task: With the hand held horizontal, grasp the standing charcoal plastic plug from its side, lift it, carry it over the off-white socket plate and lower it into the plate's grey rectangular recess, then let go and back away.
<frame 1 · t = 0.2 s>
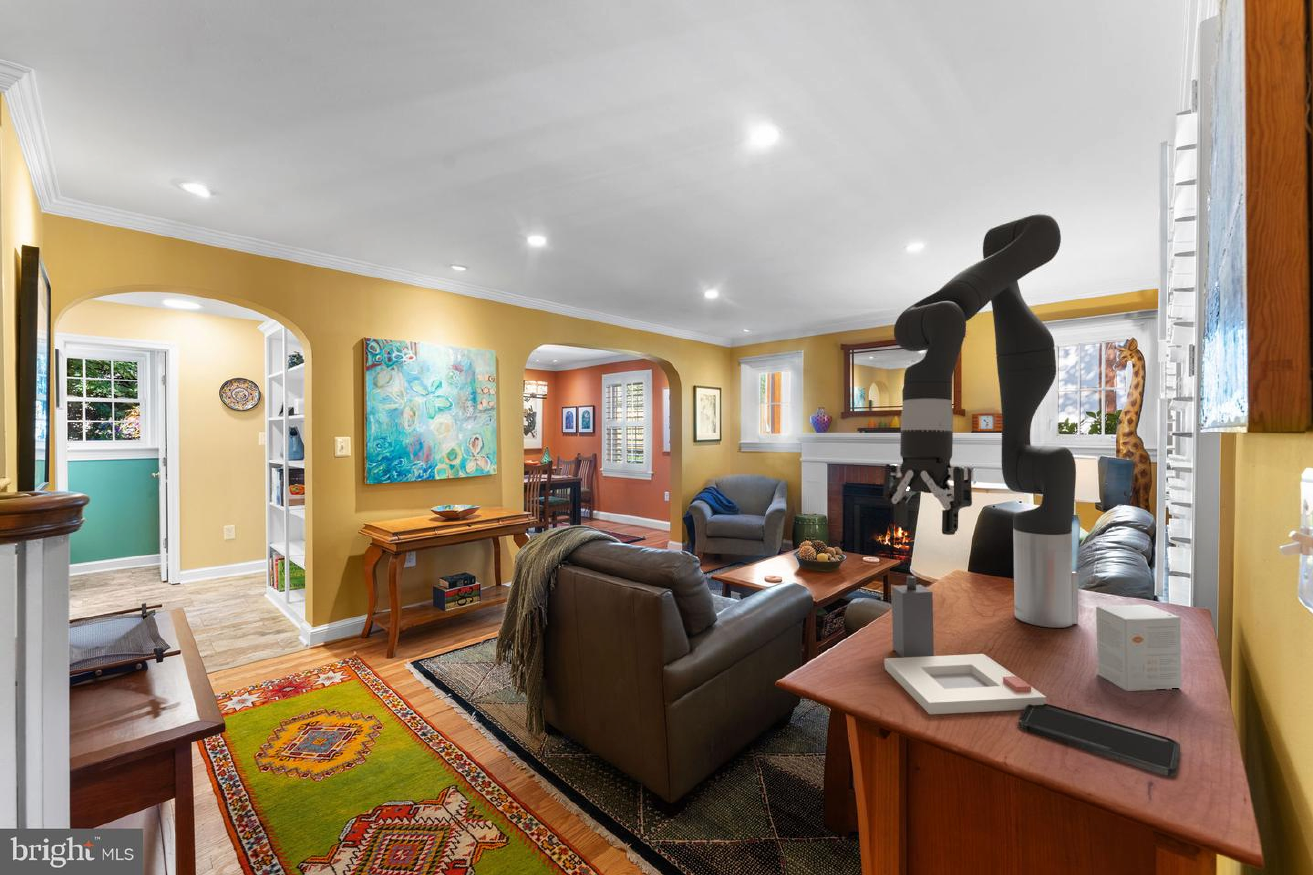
hand: (923, 530, 90), 22 cm above the table, tool pointing down, fingers open, 8 cm apart
socket plate: (958, 686, 83), on the table
phone: (1095, 741, 69), on the table
plug: (913, 653, 95), on the table
small box: (1137, 683, 83), on the table
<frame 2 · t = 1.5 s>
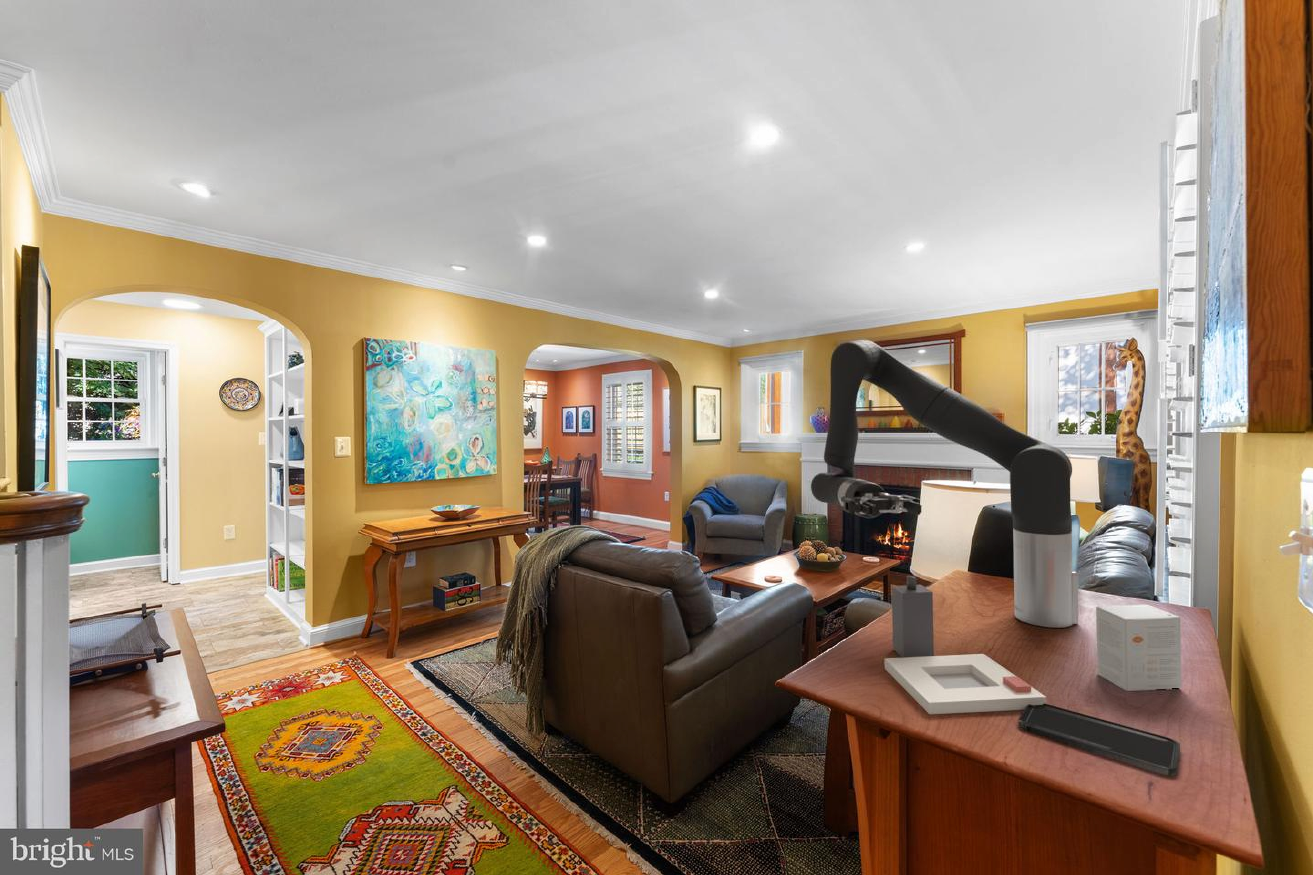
hand: (896, 510, 106), 22 cm above the table, tool horizontal, fingers open, 8 cm apart
nothing on the table moved.
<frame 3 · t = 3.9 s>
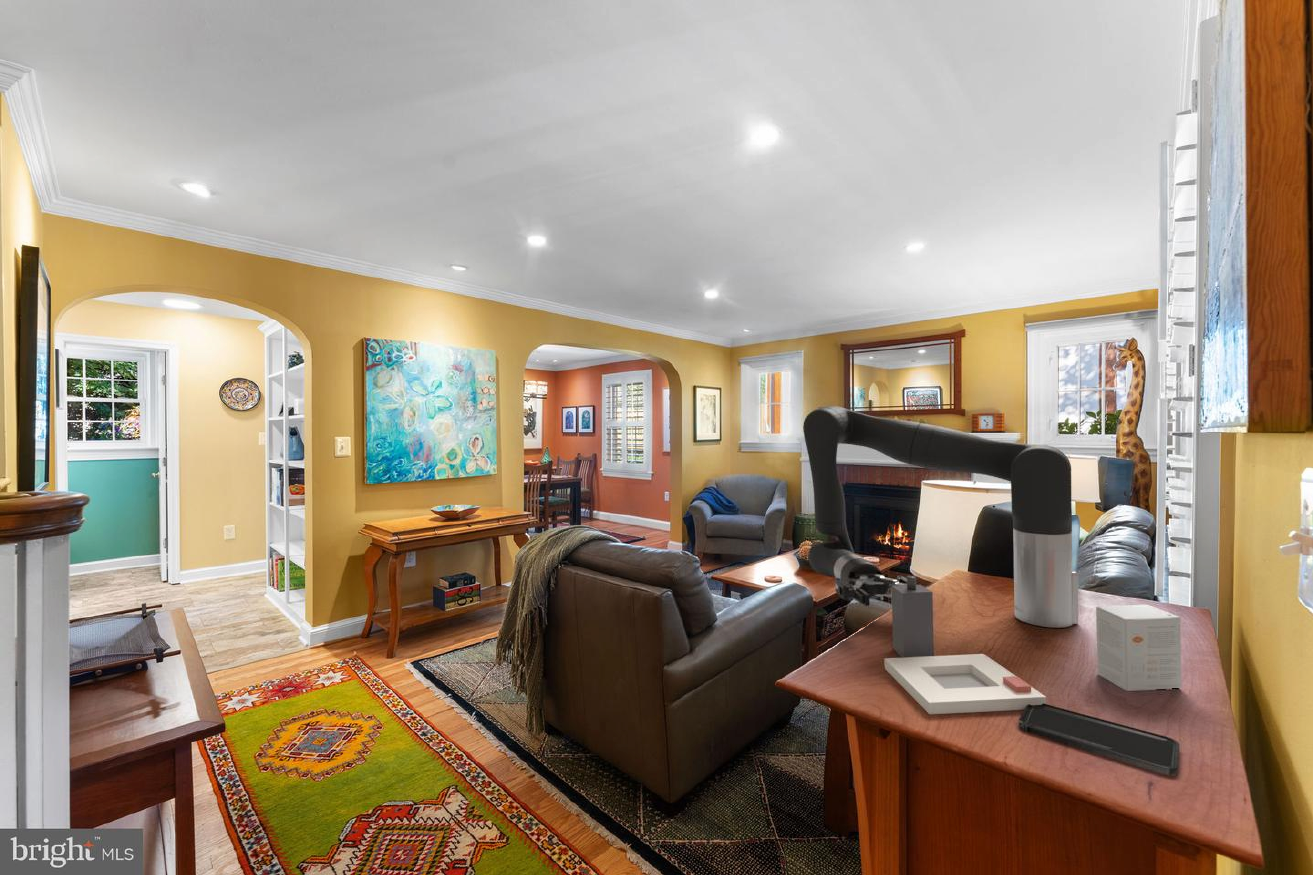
hand: (890, 599, 103), 7 cm above the table, tool horizontal, fingers open, 8 cm apart
nothing on the table moved.
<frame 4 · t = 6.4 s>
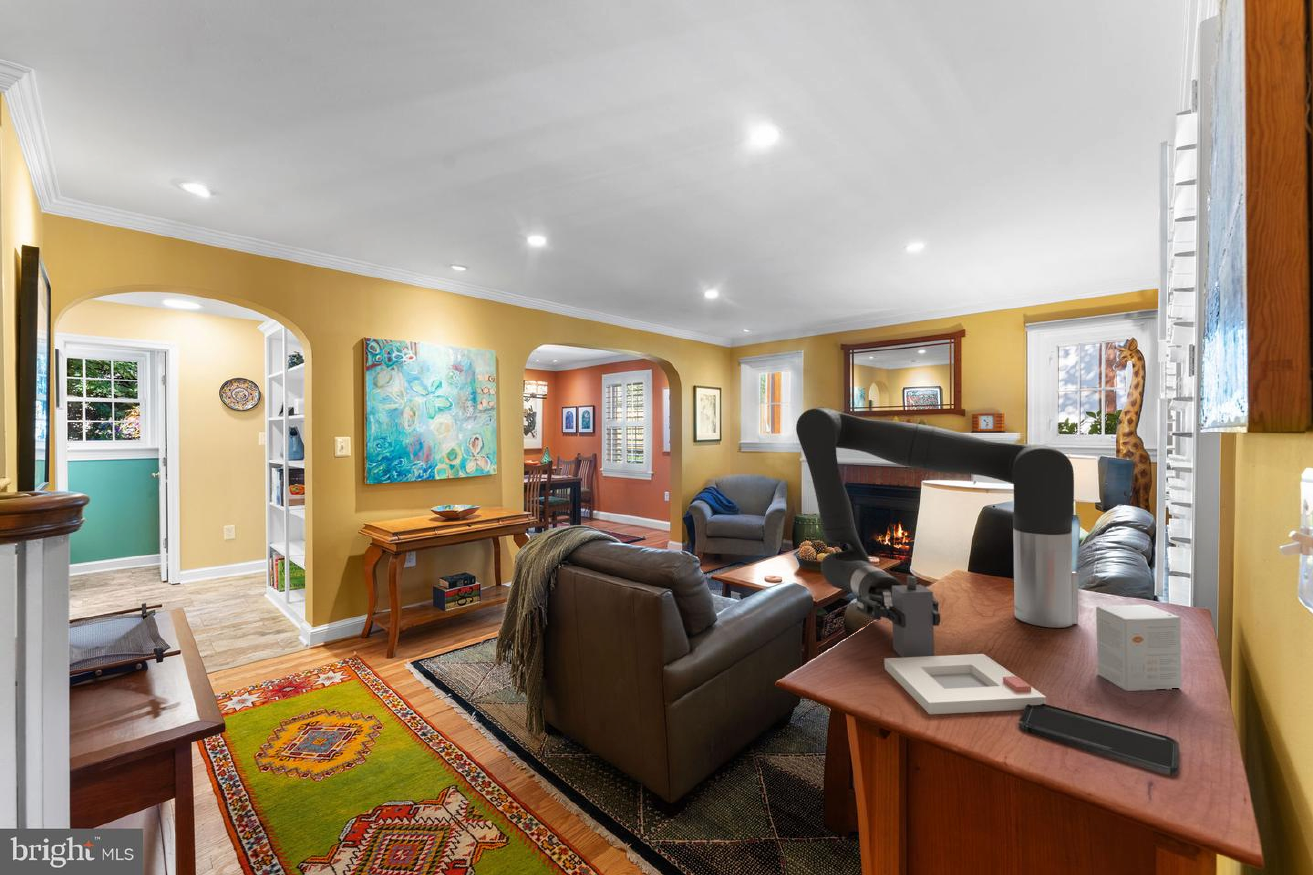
hand: (920, 620, 92), 7 cm above the table, tool horizontal, fingers closed on plug, 5 cm apart
plug: (913, 653, 95), on the table, touching gripper
everything else where it was.
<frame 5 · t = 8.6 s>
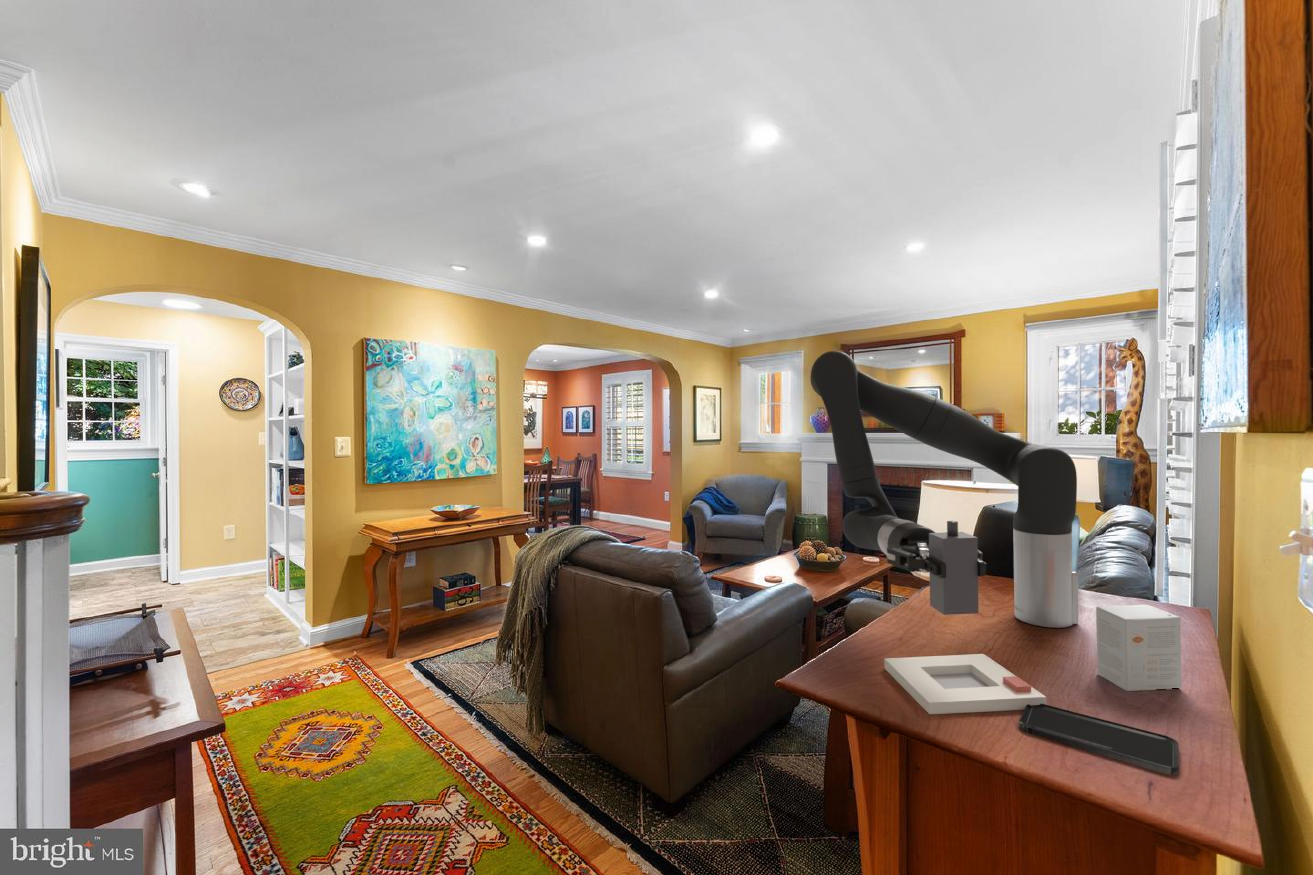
hand: (963, 570, 80), 18 cm above the table, tool horizontal, fingers closed on plug, 5 cm apart
plug: (953, 609, 83), point 11 cm above the table, touching gripper
everything else where it was.
when the fingers open (7 cm above the table, at t = 11.1 s): plug stays where it is, resting on socket plate.
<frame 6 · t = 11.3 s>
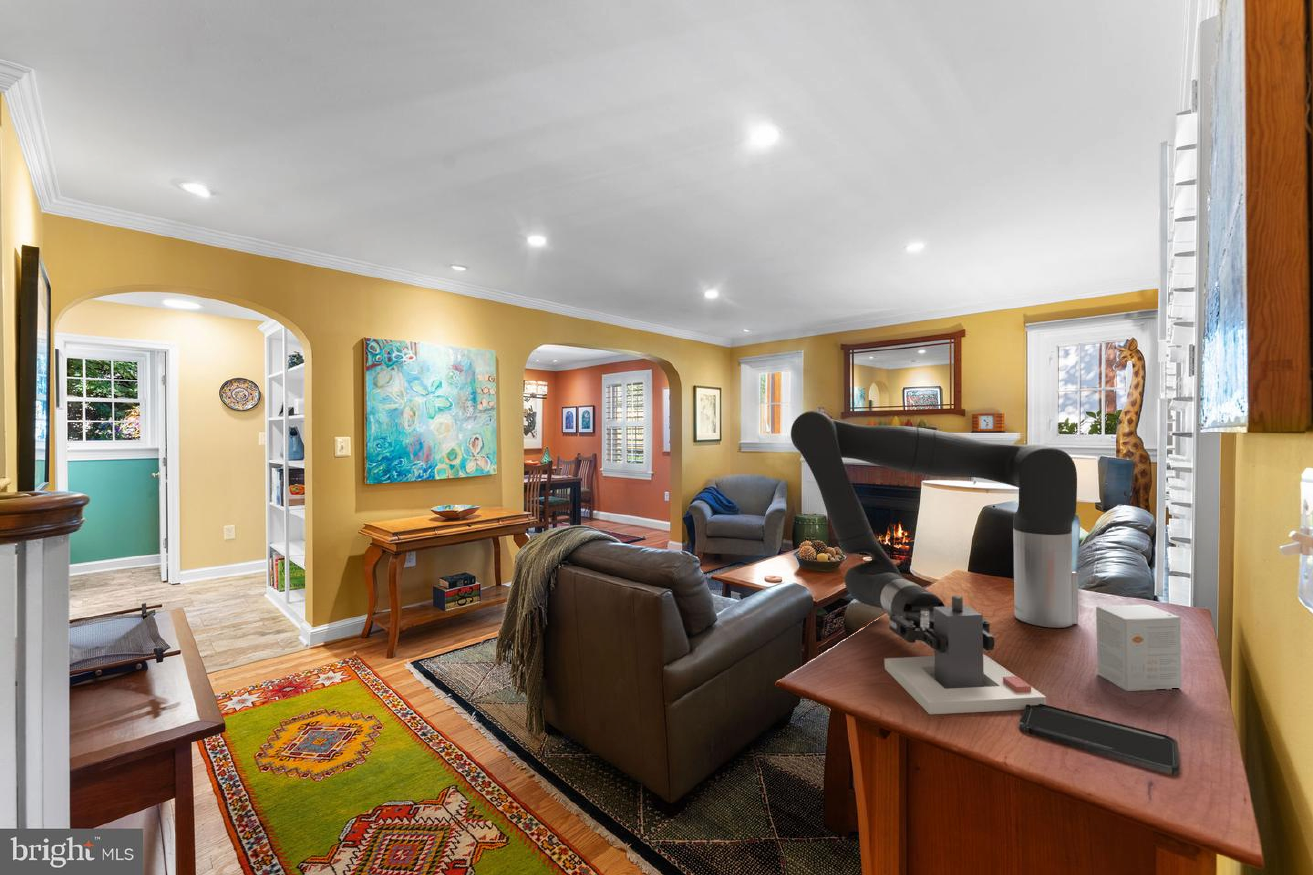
hand: (967, 644, 80), 7 cm above the table, tool horizontal, fingers open, 6 cm apart
plug: (958, 684, 83), resting on socket plate
everything else where it was.
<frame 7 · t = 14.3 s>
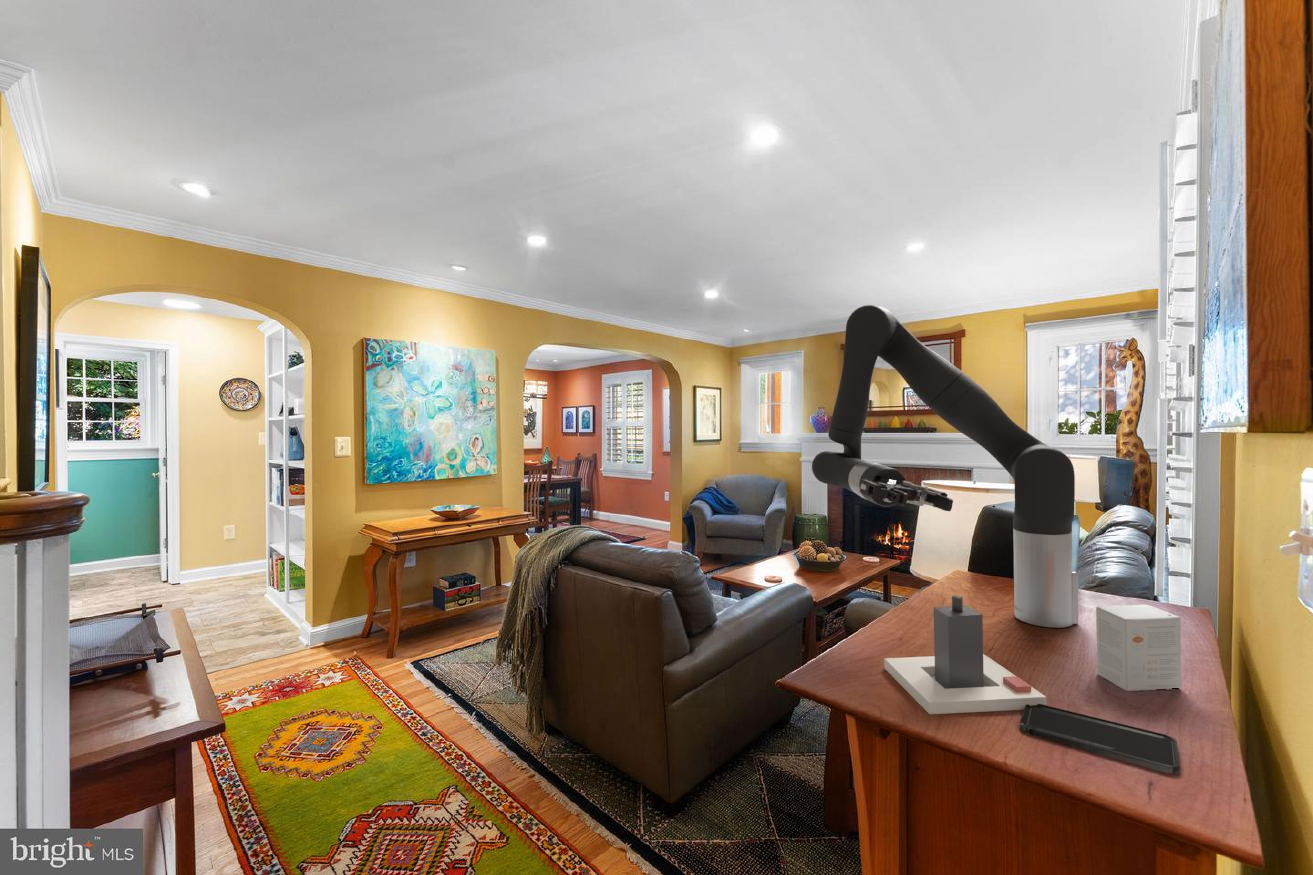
hand: (928, 502, 95), 25 cm above the table, tool horizontal, fingers open, 8 cm apart
nothing on the table moved.
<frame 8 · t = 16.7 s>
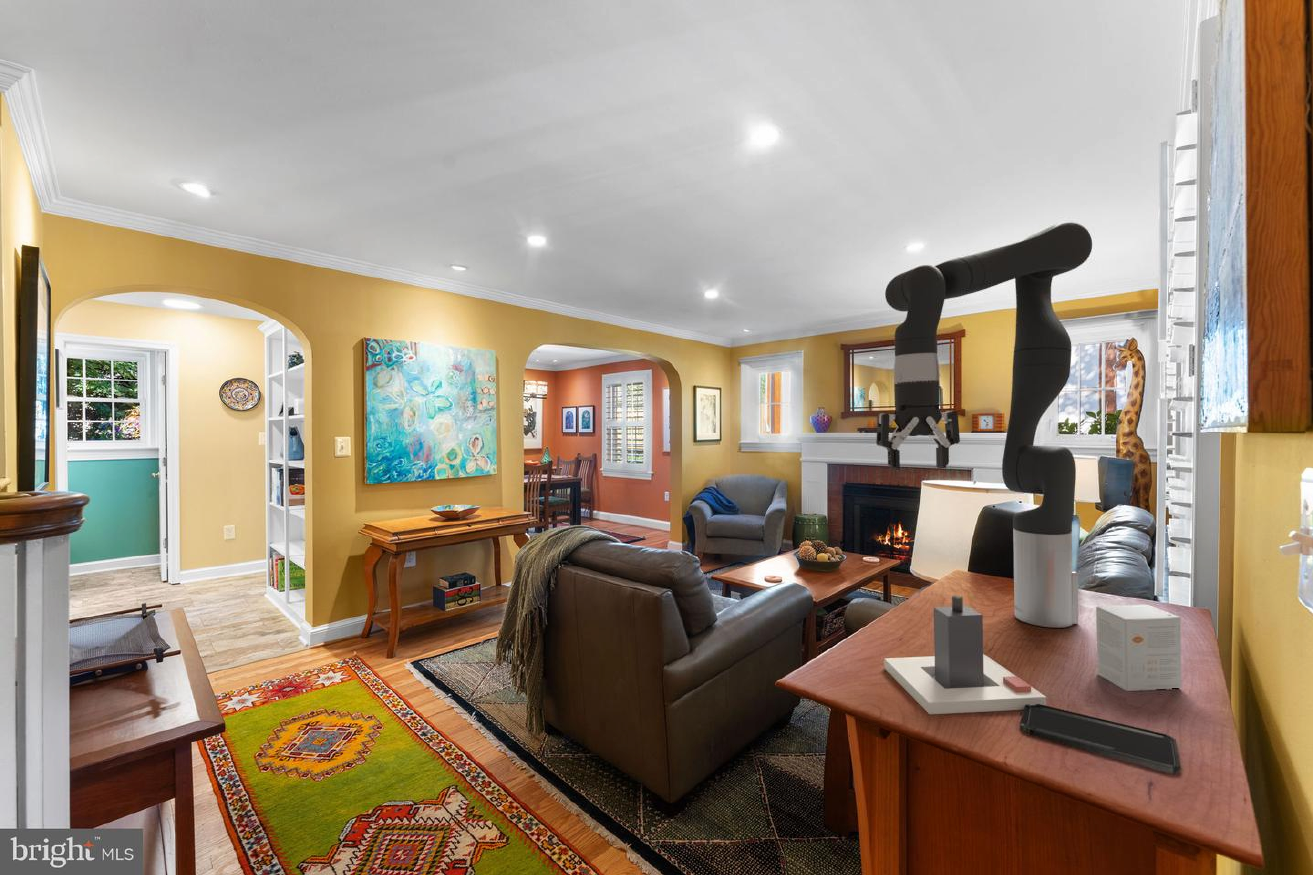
hand: (918, 469, 103), 30 cm above the table, tool pointing down, fingers open, 8 cm apart
nothing on the table moved.
at the end: plug 0.0 cm off-centre on the socket plate, point 0.3 cm above the socket plate's base; plug tilted 0°; the gripper is holding nothing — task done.
